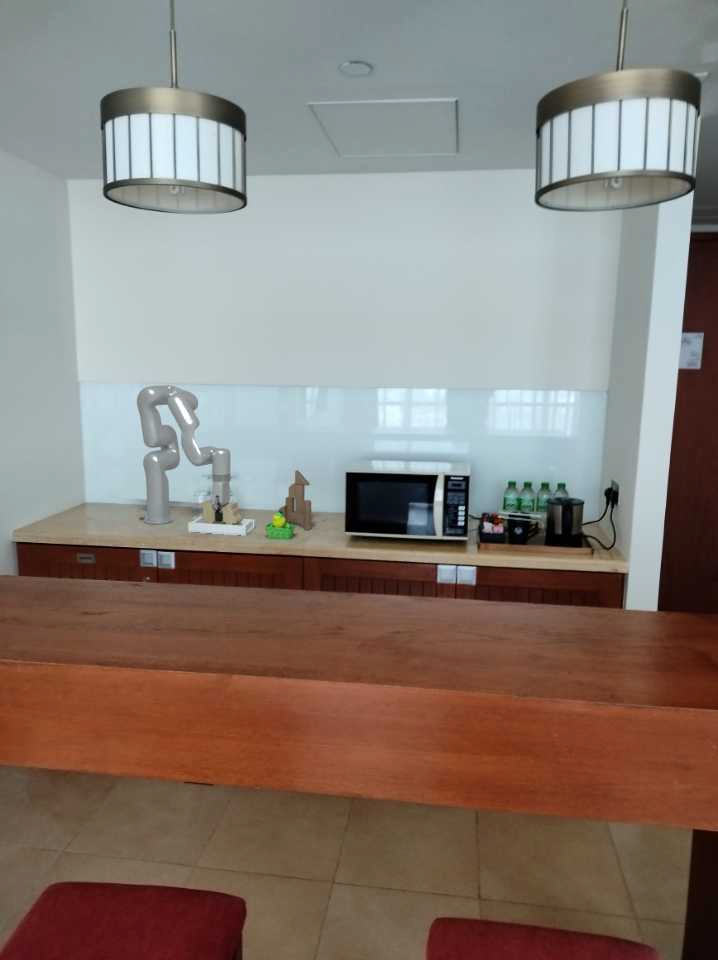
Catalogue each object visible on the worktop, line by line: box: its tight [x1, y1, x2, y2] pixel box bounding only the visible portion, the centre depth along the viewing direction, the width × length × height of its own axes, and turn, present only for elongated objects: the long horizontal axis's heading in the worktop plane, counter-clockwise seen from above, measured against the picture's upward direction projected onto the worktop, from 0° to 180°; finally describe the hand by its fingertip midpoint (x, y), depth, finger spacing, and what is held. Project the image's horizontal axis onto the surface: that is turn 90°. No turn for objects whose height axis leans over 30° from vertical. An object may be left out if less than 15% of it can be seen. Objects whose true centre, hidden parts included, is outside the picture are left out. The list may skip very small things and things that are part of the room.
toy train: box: [200, 499, 244, 525], centre depth 291 cm, size 6×17×10 cm, turn 71°
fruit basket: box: [264, 512, 296, 541], centre depth 281 cm, size 11×9×11 cm
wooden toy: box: [277, 469, 312, 531], centre depth 298 cm, size 16×7×25 cm, turn 72°
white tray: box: [187, 515, 256, 537], centre depth 291 cm, size 25×13×4 cm, turn 81°
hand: (221, 519), depth 291 cm, fingers closed on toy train, 6 cm apart
